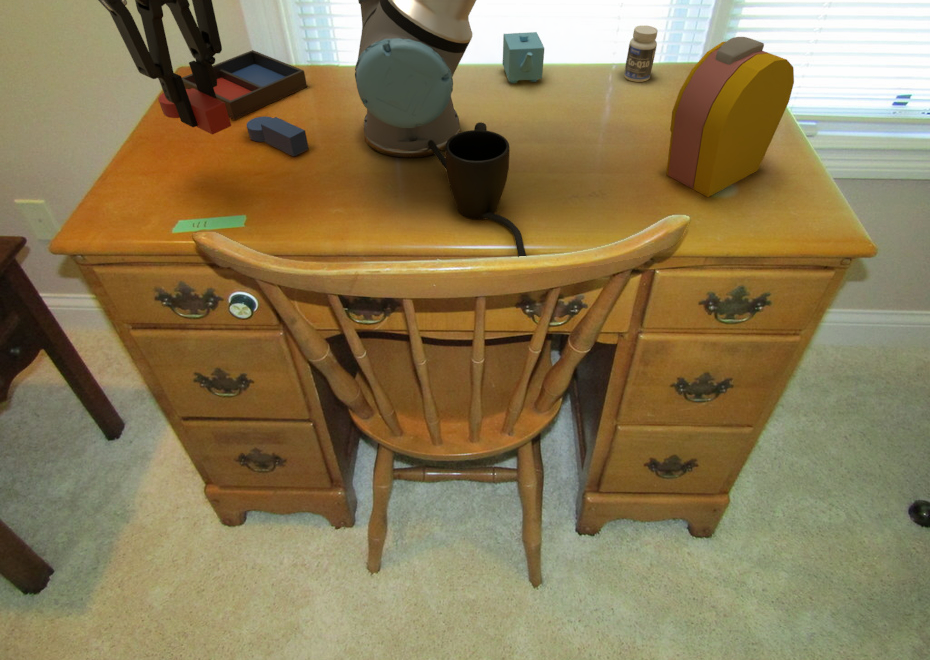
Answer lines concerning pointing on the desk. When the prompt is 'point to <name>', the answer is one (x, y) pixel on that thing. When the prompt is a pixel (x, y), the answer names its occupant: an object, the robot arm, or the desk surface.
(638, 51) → the pill bottle
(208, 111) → the red rounded-end block
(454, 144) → the mug
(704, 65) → the alarm clock
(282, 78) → the organizer
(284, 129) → the blue round-headed block
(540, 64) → the teapot
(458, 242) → the desk surface
